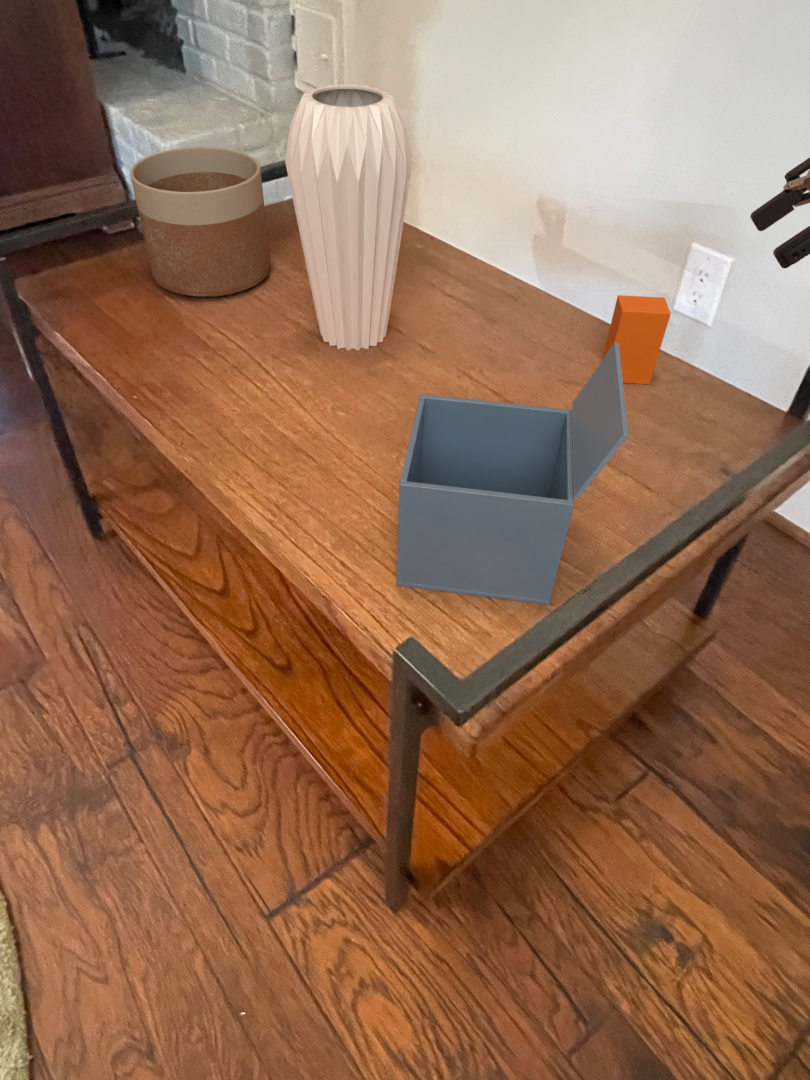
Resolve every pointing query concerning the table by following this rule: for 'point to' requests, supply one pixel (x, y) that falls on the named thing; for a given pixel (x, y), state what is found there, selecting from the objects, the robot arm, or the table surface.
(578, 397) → the gray box lid
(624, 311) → the block
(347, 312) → the vase
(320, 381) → the table surface
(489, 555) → the blue box
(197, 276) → the planter
